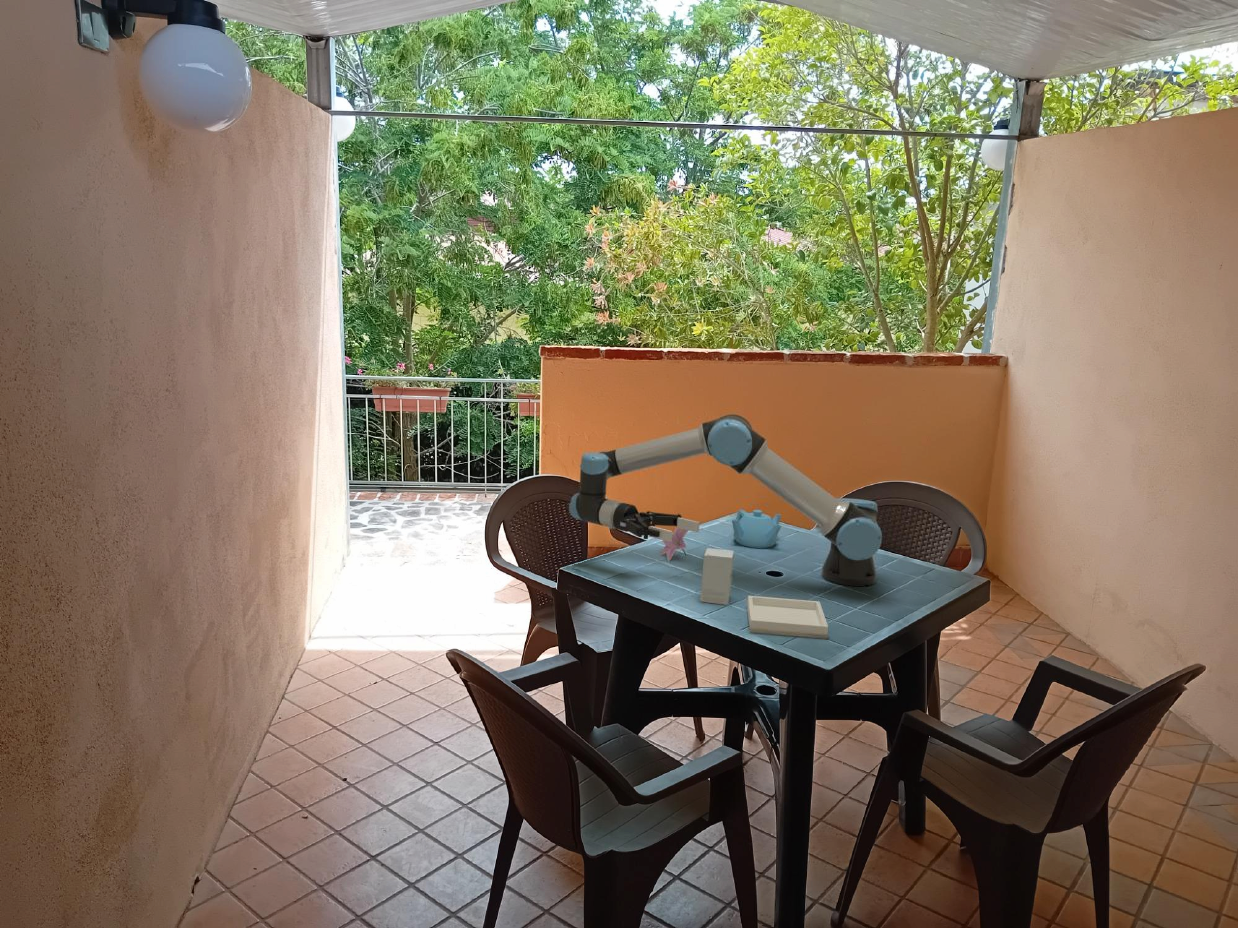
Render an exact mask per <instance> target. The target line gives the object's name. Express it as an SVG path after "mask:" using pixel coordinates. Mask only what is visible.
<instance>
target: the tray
mask: <svg viewBox="0 0 1238 928" xmlns="http://www.w3.org/2000/svg"><path fill="white" fill-rule="evenodd" d="M746 603H747V604H746V610H747V611H746V612H747V620H748V629H749V633H753V634H755V633H756V634H763V635H764V634H765V635H777V636H787V637H788V636H789V637H800V638H810V639H811V638H812V639H813V638H814V639H823V640H824V639H825V640H827V639H828V632H829V626H828V622H827V620H826V616H825V614H824V611H823V607H822V605H821V602H820V601H816V600H804V599H792V598H781V597H779V598H778V597H769V596H758V595H757V596H756V595H747V601H746Z"/></svg>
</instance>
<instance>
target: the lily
mask: <svg viewBox="0 0 1238 928" xmlns="http://www.w3.org/2000/svg"><path fill="white" fill-rule="evenodd" d="M688 532H689V530H685V529H681V528H677V526H675V529H674V531H673V532H672V541H671V542H669V541H665V540H661V541H662V543H663V544H664V545H665V546H664V547H663V548H662V549H661V551H660V553H659V555H660V556H662V555H665V554H666V559H667V562H670V561H671V560H672V558H673V556H674V554H675V553H676V550H682V551H683V553H684V555H685V556H686V557H687V553H686V551H685V550H684V549H687V545H686V543H685V541H684V538H685V536H686V535H687V533H688Z"/></svg>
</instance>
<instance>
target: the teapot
mask: <svg viewBox="0 0 1238 928" xmlns="http://www.w3.org/2000/svg"><path fill="white" fill-rule="evenodd" d="M752 511H753V512H747V511H745V510H744V509H739V510H738V511H737V514H736V518H735V519H732V520H731V523H732V524H731V525H732V530H733V538H734V540H735V542H736V543H737V544H738V543H739V544H738V545H741V546H743V547H746V546H747V547H746V548H752V549H768V548H771V547H773V546H775V544H777V542H778V540H779V539H778V537H779V536H778V534H779V532H780V531H781V528H782V525H780V522H781V521H780V520H781V517H782V515H781V514H779V513H777V514H774V516H773V517H771V516H770V515H768V514H765V513H763V511H762V510H761V509H754V510H752Z"/></svg>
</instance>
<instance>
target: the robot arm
mask: <svg viewBox="0 0 1238 928" xmlns="http://www.w3.org/2000/svg"><path fill="white" fill-rule="evenodd" d="M768 446H769V445H768V442H767V439H766V438H765V437H763V436H762V435H761V434H760V433H758V432H757V431H755V430H754V429H753V427H752V425H751V423H750V422H749V421H748V420H747V419H746V418H745V417H743V416H742V415H738V414H726V415H723V416H721V417H718V418H716V419H712V420H710V421H707V422H706V421H705V422H702V423H701V424H700V425H699V427H698V428H693V429H690V430H689V429H688V430H685V431H681V432H678V433H674V434H670V435H667V436H663V437H658V438H656V439H655V438H654V439H651V440H646V441H643V442H639V443H635V444H631V445H628V446H623V447H621V448H620V447H619V448H616V449H612V450H608V451H607V450H604V451H600V452H586V453H584V454H582V456H581V461H580V465H579V467H580V473H579V475H580V476H579V490H578V491H579V492H577V493H575V494H573V496H572V497H571V499H570V502H569V503H568V504H569V505H568V507H569V508H568V510H569V514H570V515H571V516H572V517H573V518H574V519H575V520H576V519H577V520H580V521H582V522H585V523H591V524H594V525H595V524H596V525H599V526H602V527H603V526H604V527H608V529H609V530H612V529H615V530H618V531H623V532H626V533H628V532H629V533H631V534H632V535H634V536H636V537H637V538H643V540H648V539H649V538H653V539H657V540H661V541H662V540H665V541H669V542H671V541H672V533H674V531H672V530H669V529H664V528H662V527H656V526H663V527H666V526H667V527H677V528H680V530H682V529H685V530H688V531H689V532H695V533H700V521H695V520H693V519H687V518H683V517H682V516H683V515H681V514H680V513H677V514H672V513H663V512H654V511H650V510H649V511H646V512H643V511H642V512H639V511H638V509H637V507H636V506H635V505H634V504H630V503H625V502H621V501H619V500H613V499H609V498H606V495H607V483H608V480H609V479H610V478H613V477H618V476H620V475H621V476H622V475H623V474H629V473H632V472H637V471H641V470H644V469H648V468H653V467H657V466H660V465H664V464H670V463H672V462H676V461H680V460H684V459H689V458H692V457H697V456H700V455H701V456H702V455H707V456H709V457H712V458H713V459H714V460H715V461H717V462H718V463H720V464H722V465H724V466H729V468H731V469H732V470H734V471H736V472H737V473H738V474H740V475H745V474H749V475H750V476H751V477H753V478H754V479H755V480H757V481H758V482H760V483H761V484H762V485H764V486H765V487H766V488H768V489H769V490H770V491H771V492H773V493H775V494H776V495H777V496H778V497H780V498H781V499H782V500H783V501H785V502H786V503H787V504H789V505H791V507H793V508H794V509H796V510H797V511H799V512H800V513H801V514H803V515H804V516H805V517H807V518H808V519H809V520H810V521H812V522H813V523H814V524H816V525H817V526H819V527H820V533H821V536H822V537H824V538H825V539H827V541H829V542H830V549H829V552H828V554H827V556H826V558H825V560H824V563H823V565H822V568H821V577H822V578H823V579H824V580H826V581H829V582H832V583H835V584H839V585H843V586H848V587H849V586H850V587H851V586H852V587H866V586H865V585H868V586H872V585H874V584H876V582H877V571H876V566H875V561H874V556H875V554H877V552H878V551H879V549H880V547H881V545H882V539H883V534H882V533H883V532H882V530H881V527H880V526H879V523H878V521H877V516H878V515H877V514H878V511H879V510H878V504H877V503H876V501H872V500H866V499H861V498H859V499H858V498H847V497H845V498H842V497H841V498H836V497H835V496H834V495H832V494H831V493H829V492H828V491H826V490H825V489H824V488H822V486H820V485H818V484H817V483H816V482H814V481H813V480H812V479H810V478H809V477H808V476H806V475H805V474H803V473H802V472H801V471H800V470H798V469H797V468H795V467H794V466H793V465H792V464H790V463H789V462H787V461H786V460H785V459H784V458H782V457H781V456H779V455H778V454H777V453H775V452H774V451H773V450H772V449H770V448H769V447H768ZM871 584H872V585H871Z"/></svg>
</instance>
